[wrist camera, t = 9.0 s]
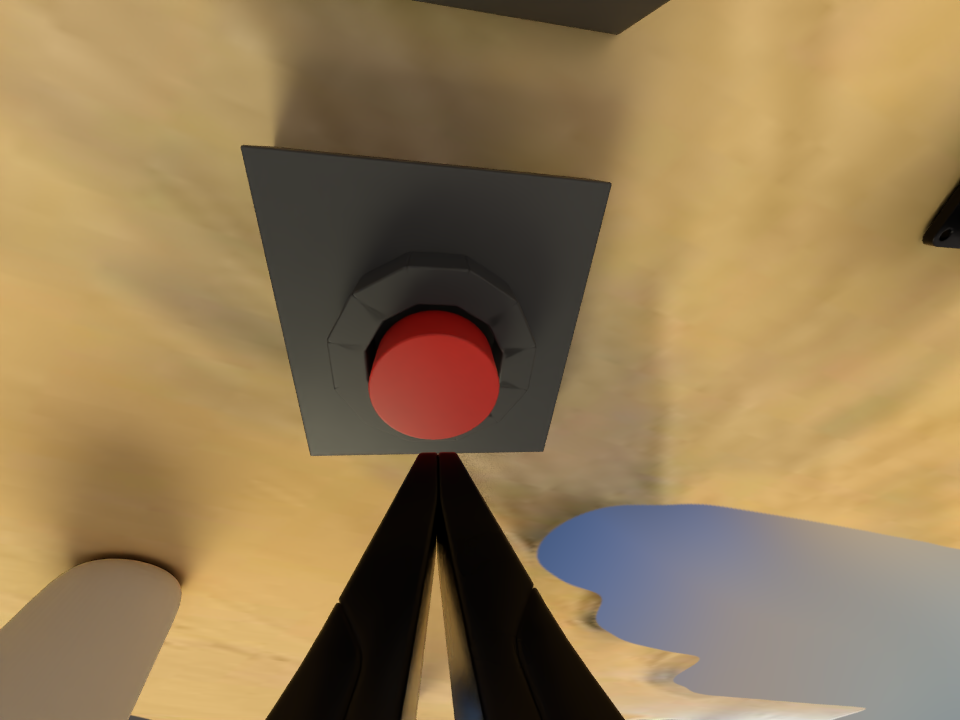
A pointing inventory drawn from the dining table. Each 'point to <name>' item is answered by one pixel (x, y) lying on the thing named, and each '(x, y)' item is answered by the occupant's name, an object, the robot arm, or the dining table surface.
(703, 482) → the dining table surface
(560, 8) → the dial panel
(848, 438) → the dining table surface
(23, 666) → the cup
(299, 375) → the switch block
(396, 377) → the power button
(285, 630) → the dining table surface
